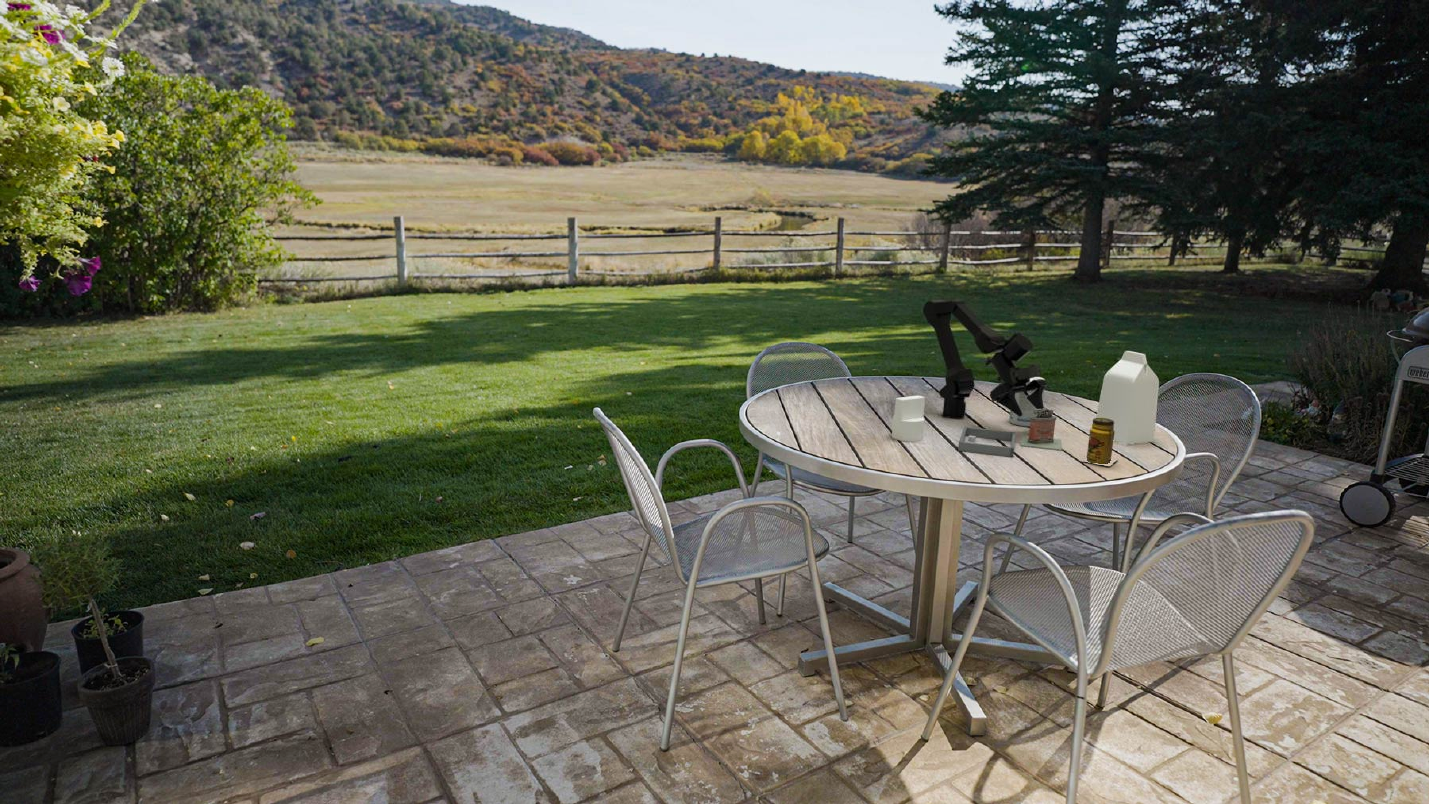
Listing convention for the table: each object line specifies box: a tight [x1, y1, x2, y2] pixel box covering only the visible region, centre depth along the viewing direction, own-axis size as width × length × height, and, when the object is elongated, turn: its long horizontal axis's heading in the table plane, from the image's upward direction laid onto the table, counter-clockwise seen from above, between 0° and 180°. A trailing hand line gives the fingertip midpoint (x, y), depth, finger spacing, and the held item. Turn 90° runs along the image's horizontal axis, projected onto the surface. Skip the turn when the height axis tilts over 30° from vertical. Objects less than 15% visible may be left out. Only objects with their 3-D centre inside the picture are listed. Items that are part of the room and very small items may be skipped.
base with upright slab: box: [891, 395, 926, 443], centre depth 247 cm, size 9×9×12 cm
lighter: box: [1028, 407, 1057, 444], centre depth 244 cm, size 8×3×10 cm, turn 105°
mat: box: [1020, 434, 1063, 452], centre depth 245 cm, size 11×11×1 cm
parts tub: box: [957, 426, 1017, 458], centre depth 242 cm, size 15×18×2 cm
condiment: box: [1086, 417, 1115, 464], centre depth 228 cm, size 7×8×12 cm
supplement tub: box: [1008, 376, 1046, 428], centre depth 265 cm, size 10×10×15 cm
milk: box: [1095, 350, 1160, 445], centre depth 250 cm, size 12×12×26 cm
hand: (1032, 414), depth 247 cm, fingers open, 9 cm apart
